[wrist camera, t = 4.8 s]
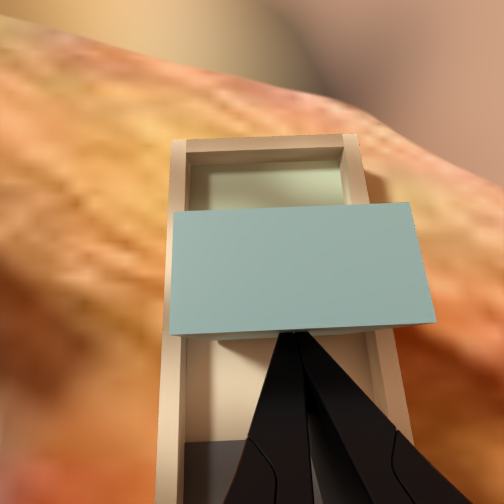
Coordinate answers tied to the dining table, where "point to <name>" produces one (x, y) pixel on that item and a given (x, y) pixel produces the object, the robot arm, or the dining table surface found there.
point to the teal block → (296, 271)
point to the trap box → (258, 350)
